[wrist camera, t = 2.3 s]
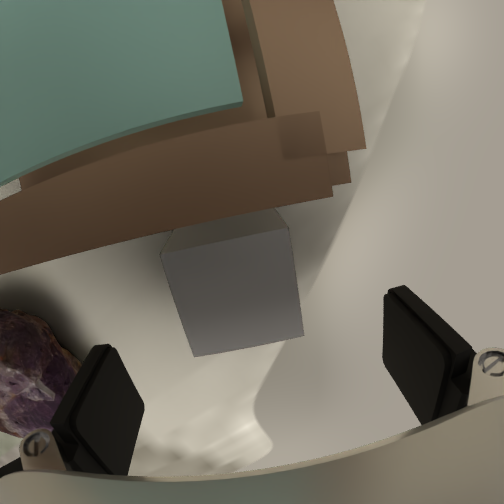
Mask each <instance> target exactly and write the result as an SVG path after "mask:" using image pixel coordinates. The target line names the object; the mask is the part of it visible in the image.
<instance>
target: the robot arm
mask: <svg viewBox="0 0 504 504" xmlns="http://www.w3.org/2000/svg"><path fill="white" fill-rule="evenodd" d="M382 358H383V363H384V365H385V367H386V369H387V370H388V372H389V373H390V375H391V376H392V378H393V379H394V381H395V382H396V384H397V386H398V387H399V389H400V391H401V392H402V394H403V395H404V397H405V399H406V400H407V402H408V403H409V405H410V407H411V408H412V410H413V411H414V413H415V415H416V416H417V418H418V420H419V421H420V423H421V426H419V427H416V428H414V429H411V430H408V431H406V432H403V433H400V434H397V435H394V436H392V437H389V438H386V439H383V440H380V441H377V442H374V443H371V444H368V445H365V446H362V447H359V448H355V449H352V450H348V451H344V452H341V453H337V454H333V455H329V456H325V457H321V458H317V459H312V460H308V461H303V462H298V463H293V464H288V465H283V466H277V467H271V468H265V469H258V470H252V471H244V472H235V473H225V474H214V475H199V476H174V477H147V476H127V475H128V471H129V467H130V463H131V459H132V455H133V451H134V447H135V443H136V440H137V436H138V432H139V428H140V425H141V421H142V417H143V414H144V403H143V400H142V399H141V397H140V395H139V393H138V391H137V389H136V387H135V386H134V384H133V382H132V380H131V378H130V376H129V374H128V372H127V370H126V368H125V366H124V364H123V362H122V360H121V358H120V356H119V354H118V352H117V350H116V349H115V348H114V347H112V346H111V345H109V344H103V345H95V346H94V347H93V348H92V349H91V351H90V353H89V354H88V356H87V358H86V359H85V361H84V363H83V364H82V366H81V368H80V369H79V371H78V373H77V374H76V376H75V378H74V380H73V381H72V383H71V385H70V386H69V388H68V390H67V392H66V394H65V395H64V397H63V399H62V401H61V402H60V404H59V406H58V408H57V410H56V412H55V413H54V415H53V417H52V419H51V421H50V424H51V426H52V427H53V430H52V432H51V431H49V430H48V429H43V428H42V429H36V430H33V431H31V432H30V433H28V434H27V435H26V436H25V437H24V438H23V440H22V441H21V443H20V447H19V452H20V457H19V458H18V459H16V460H14V461H12V462H10V463H9V464H7V465H5V466H3V467H1V468H0V504H504V349H502V348H496V347H492V348H486V349H483V350H481V351H480V352H478V353H476V352H475V351H474V350H473V349H472V346H471V345H469V343H467V342H466V341H465V340H464V339H463V338H462V337H461V336H460V335H459V334H458V333H457V332H456V331H455V330H454V329H453V328H452V327H451V326H450V325H449V324H448V323H446V322H445V321H444V320H443V319H442V318H441V317H440V316H439V315H438V314H436V313H435V312H434V311H433V310H432V309H431V308H430V307H429V306H428V305H427V304H426V303H425V302H423V301H422V300H421V299H420V298H419V297H418V296H417V295H416V294H414V293H413V292H412V291H411V290H410V289H409V288H408V287H406V286H405V285H402V286H398V287H395V288H391V289H389V290H388V293H387V294H385V295H384V317H383V356H382Z"/></svg>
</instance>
